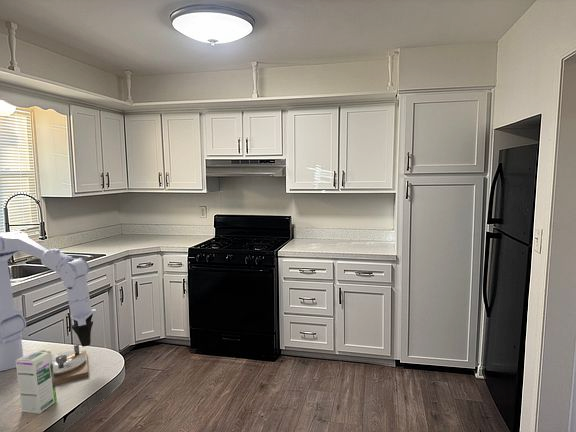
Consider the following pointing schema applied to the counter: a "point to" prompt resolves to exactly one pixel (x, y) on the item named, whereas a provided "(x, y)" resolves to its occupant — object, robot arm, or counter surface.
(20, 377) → the syrup box
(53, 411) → the counter surface
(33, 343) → the counter surface
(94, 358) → the counter surface
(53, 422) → the counter surface
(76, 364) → the capstan dial
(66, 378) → the tan base board
